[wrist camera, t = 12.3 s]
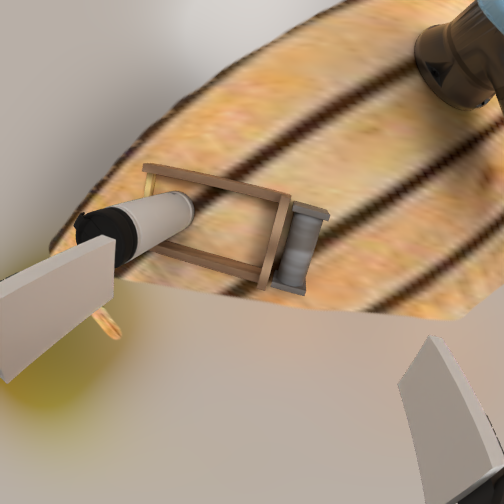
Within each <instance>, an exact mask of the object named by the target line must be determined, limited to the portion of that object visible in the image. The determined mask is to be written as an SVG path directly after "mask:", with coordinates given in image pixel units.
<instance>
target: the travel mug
mask: <svg viewBox="0 0 504 504" xmlns="http://www.w3.org/2000/svg"><path fill="white" fill-rule="evenodd" d="M84 214H85V213H84V212H83V213H80V215H79V216H78V218H77V219H76V221H75V223H74V225H73V226H74V227H75V229H76V242H77V245H79V244H81V243H84V242H86V241H88V240H91V239H93V238H95V237H98V236H100V235H104V236H107V237H110V238H113V239H115V240H116V244H115V260H114V269H115V268H117V267H119V266H121V265H123V264H125V263H127V262H129V261H130V260H132V259H134V258H135V257H137V256H139V255H140V254H142V253H144V252H146V251H147V250H149V249H151V248H152V247H154V246H156V245H157V244H159V243H161V242H163V241H164V240H166V239H168V238H170V237H171V236H173V235H175V234H177V233H178V232H180V231H182V230H184V229H185V228H187V227H188V226H189V225H190V224H191V222H192V220H193V218H194V206H193V203H192V201H191V199H190V198H189V197H188V196H187V195H186V194H184V193H182V192H179V191H171V192H167V193H162V194H158V195H153V196H149V197H145V198H140V199H136V200H132V201H128V202H124V203H120V204H116V205H113V206H109V207H106V208H104V209H100V210H96V211H93V212H90V213H87V214H86V215H84Z"/></svg>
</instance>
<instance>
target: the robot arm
mask: <svg viewBox="0 0 504 504" xmlns="http://www.w3.org/2000/svg"><path fill="white" fill-rule="evenodd" d="M415 58H416V62H417V65H418V68H419V70H420V73H421V75H422V76H423V78H424V80H425V81H426V83H427V84H428V86H429V87H430V88H431V89H432V91H433V92H434V93H435V94H436V95H437V96H438V97H439V98H441V99H442V100H443V101H444V102H446V103H447V104H449V105H451V106H453V107H455V108H457V109H460V110H474V109H478V108H481V107H483V106H484V105H486V104H487V103H488V102H489V101H490V99H491V98H492V97H493V96H494V95H495V94H496V96H497V99H498V102H499V105H500V108H501V110H502V113H503V116H504V0H475V1H474V2H473V3H472V4H470V5H469V6H468V7H467V8H466V9H465V10H464V11H463V12H462V13H460V14H459V15H458V16H457V17H456V18H455V19H454V20H453V21H452V22H450V23H446V24H442V25H434V26H431V27H429V28H427V29H426V30H425V31H424V32H423V33H422V34H421V35H420V36H419V37H418V39H417V41H416V44H415ZM115 244H116V240H115V239H113V238H110V237H107V236H104V235H100V236H98V237H95V238H93V239H91V240H88V241H86V242H84V243H81V244H79V245H77V246H74V247H72V248H70V249H68V250H65V251H63V252H61V253H59V254H56V255H54V256H52V257H50V258H48V259H46V260H44V261H42V262H39V263H37V264H35V265H33V266H31V267H29V268H27V269H25V270H23V271H21V272H18V273H15V274H13V275H11V276H9V277H7V278H6V279H5V280H4V279H3V280H1V281H0V377H1V378H2V379H3V380H4V381H5V382H6V383H9V382H10V381H11V380H12V379H13V378H14V377H16V376H17V375H18V374H19V373H20V372H21V371H22V370H24V369H25V368H26V367H27V366H28V365H30V364H31V363H32V362H33V361H34V360H35V359H37V358H38V357H39V356H40V355H41V354H43V353H44V352H45V351H46V350H47V349H49V348H50V347H51V346H52V345H54V344H55V343H56V342H57V341H58V340H60V339H61V338H62V337H63V336H65V335H66V334H67V333H68V332H70V331H71V330H72V329H73V328H75V327H76V326H77V325H78V324H80V322H82V321H83V320H85V319H86V318H87V317H89V316H90V315H91V314H92V313H94V312H95V311H96V310H98V309H99V308H100V307H102V306H103V305H104V304H105V303H107V302H108V301H109V300H111V299H112V298H113V289H114V287H113V286H114V260H115ZM397 385H398V388H399V391H400V395H401V398H402V401H403V405H404V408H405V412H406V415H407V419H408V423H409V427H410V430H411V435H412V438H413V442H414V447H415V451H416V455H417V460H418V465H419V470H420V475H421V480H422V485H423V491H424V497H425V503H426V504H456V503H458V504H504V452H503V449H502V447H501V445H500V442H499V440H498V438H497V437H496V433H495V431H494V429H492V424H491V422H490V420H489V418H488V416H487V415H486V414H485V412H484V410H483V408H482V406H481V404H480V402H479V400H478V398H477V397H476V395H475V393H474V391H473V389H472V387H471V385H470V384H469V382H468V380H467V378H466V376H465V375H464V373H463V371H462V369H461V368H460V366H459V364H458V363H457V361H456V359H455V358H454V356H453V354H452V353H451V351H450V349H449V348H448V346H447V345H446V343H445V341H444V340H443V338H441V337H437V336H433V335H428V337H427V339H426V341H425V342H424V344H423V346H422V348H421V349H420V351H419V352H418V354H417V356H416V357H415V359H414V360H413V362H412V363H411V365H410V366H409V368H408V370H407V371H406V373H405V374H404V375H403V377H402V378H401V380H400V381H399V383H398V384H397Z"/></svg>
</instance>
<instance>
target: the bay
mask: <svg viewBox="0 0 504 504" xmlns="http://www.w3.org/2000/svg"><path fill="white" fill-rule="evenodd" d="M142 171H143V172H148V173H147V179H146V185H145V191H144V198H145V197H149V196H153V191H154V185H155V179H156V174H158V175H163V176H168V177H173V178H177V179H182V180H187V181H191V182H196V183H200V184H205V185H209V186H213V187H218V188H222V189H226V190H230V191H234V192H238V193H243V194H247V195H251V196H254V197H258V198H262V199H266V200H270V201H274V202H277V203H279V206H278V210H277V214H276V218H275V222H274V225H273V229H272V233H271V237H270V241H269V244H268V248H267V252H266V256H265V259H264V263H263V267H262V268H260V267H257V266H253V265H250V264H246V263H242V262H239V261H235V260H232V259H228V258H225V257H221V256H218V255H214V254H211V253H207V252H204V251H200V250H197V249H193V248H190V247H186V246H183V245H179V244H176V243H173V242H169V241H166V240H164V241H163V242H161V243H159V244H157V245H156V246H154V247H152V248H151V249H149V250H150V251H153V252H156V253H159V254H162V255H166V256H169V257H172V258H175V259H179V260H182V261H185V262H189V263H192V264H195V265H199V266H202V267H205V268H209V269H212V270H215V271H219V272H222V273H226V274H229V275H233V276H236V277H240V278H243V279H247V280H250V281H254V282H257V283H258V285H257V289H260V290H264V291H265V289H266V286H267V282H268V279H269V275H270V272H271V268H272V265H273V261H274V257H275V254H276V250H277V247H278V243H279V239H280V236H281V232H282V228H283V225H284V221H285V217H286V213H287V210H288V206H289V202H290V198H291V195H290V194H286V193H283V192H279V191H275V190H271V189H267V188H264V187H260V186H256V185H252V184H247V183H243V182H239V181H235V180H231V179H226V178H222V177H218V176H213V175H209V174H204V173H199V172H195V171H190V170H185V169H180V168H175V167H170V166H164V165H159V164H154V163H145V164H143V169H142ZM292 211H295V212H294V216H293V220H292V223H291V227H290V230H289V234H288V238H287V241H286V245H285V248H284V252H283V255H282V259H281V262H280V266H279V269H278V270H275V272H274V275H273V280H272V284H271V287H273V288H276V289H280V290H283V291H287V292H291V293H294V294H298V295H302V296H304V295H305V293H306V280H305V277H306V274H307V271H308V268H309V265H310V261H311V258H312V255H313V252H314V249H315V245H316V242H317V239H318V236H319V232H320V229H321V226H322V222H323V220H326V221H329V217H330V214H329V213H328V211H327V210H325V209H322V208H318V207H315V206H311V205H308V204H304V203H301V202H297V201H294V203H293V208H292Z"/></svg>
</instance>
